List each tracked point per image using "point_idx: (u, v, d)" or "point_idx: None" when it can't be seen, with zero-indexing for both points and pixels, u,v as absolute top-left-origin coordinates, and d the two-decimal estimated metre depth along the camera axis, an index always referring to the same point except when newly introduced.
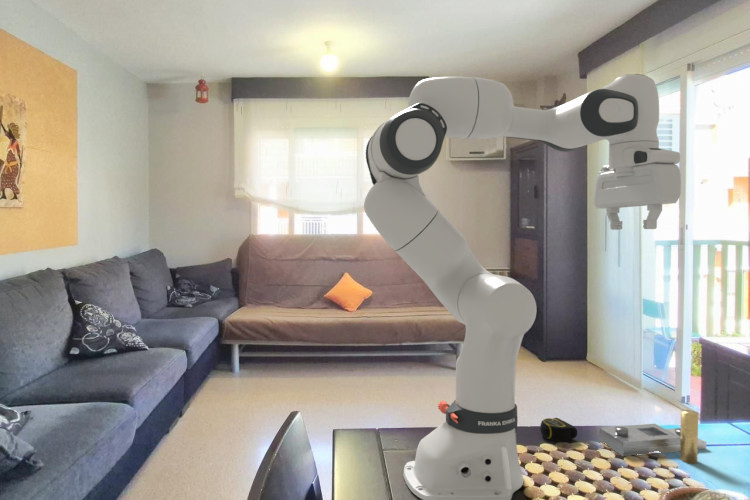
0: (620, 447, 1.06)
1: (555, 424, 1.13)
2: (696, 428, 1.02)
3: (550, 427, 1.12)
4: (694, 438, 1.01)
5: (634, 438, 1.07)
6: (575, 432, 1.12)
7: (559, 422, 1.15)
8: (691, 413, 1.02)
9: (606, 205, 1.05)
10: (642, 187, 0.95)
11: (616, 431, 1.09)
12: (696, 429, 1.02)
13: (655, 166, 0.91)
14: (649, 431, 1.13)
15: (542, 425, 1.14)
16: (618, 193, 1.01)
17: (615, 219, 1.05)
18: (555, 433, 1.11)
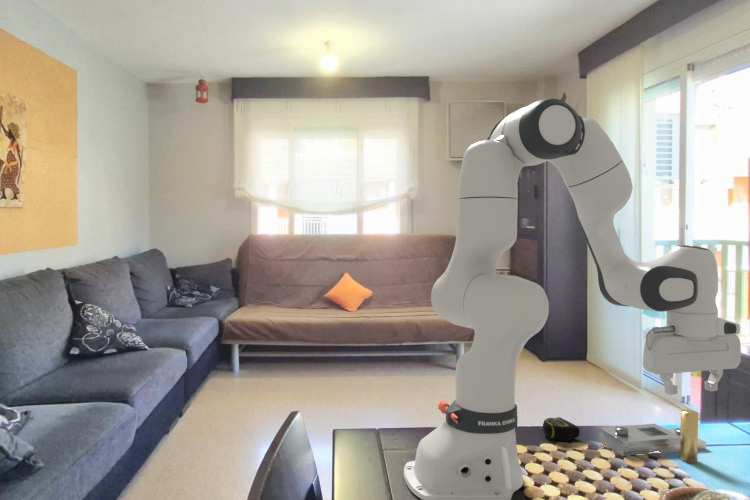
0: (620, 447, 1.06)
1: (558, 424, 1.14)
2: (696, 428, 1.02)
3: (552, 426, 1.13)
4: (694, 438, 1.01)
5: (634, 438, 1.07)
6: (577, 431, 1.13)
7: (561, 421, 1.15)
8: (691, 413, 1.02)
9: (674, 371, 1.00)
10: (718, 354, 1.02)
11: (616, 431, 1.09)
12: (696, 429, 1.02)
13: (738, 337, 1.02)
14: (649, 431, 1.13)
15: (545, 424, 1.15)
16: (690, 359, 1.00)
17: None
18: (558, 432, 1.12)
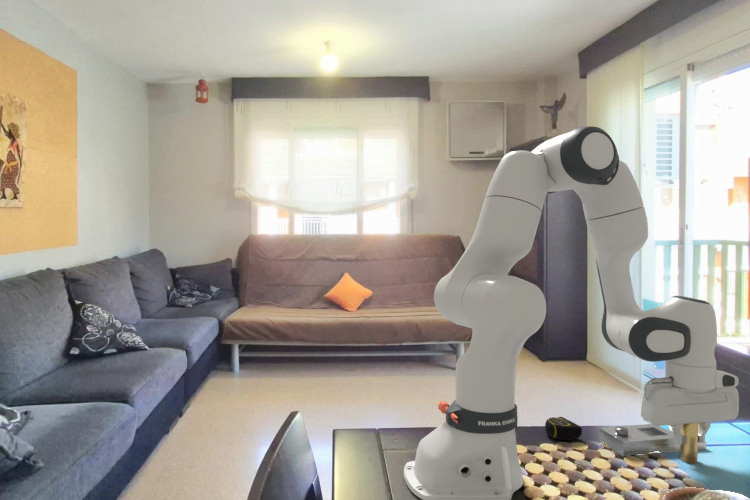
0: (620, 447, 1.06)
1: (560, 423, 1.14)
2: (696, 428, 1.01)
3: (555, 426, 1.13)
4: (694, 438, 1.01)
5: (634, 438, 1.07)
6: (580, 431, 1.13)
7: (564, 421, 1.16)
8: None
9: (672, 423, 1.00)
10: (717, 406, 1.02)
11: (616, 431, 1.09)
12: (696, 429, 1.02)
13: (736, 389, 1.02)
14: (649, 431, 1.13)
15: (547, 424, 1.15)
16: (688, 411, 1.01)
17: None
18: (560, 432, 1.12)
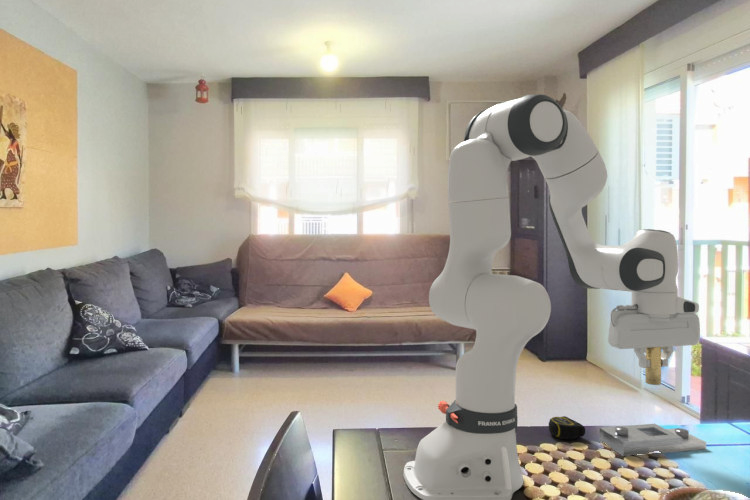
0: (620, 447, 1.06)
1: (564, 423, 1.14)
2: (659, 352, 1.09)
3: (558, 425, 1.13)
4: (657, 361, 1.09)
5: (634, 438, 1.07)
6: (583, 430, 1.13)
7: (567, 420, 1.16)
8: None
9: (636, 346, 1.07)
10: (679, 331, 1.09)
11: (616, 431, 1.09)
12: (659, 353, 1.09)
13: (697, 315, 1.09)
14: (649, 431, 1.13)
15: (550, 423, 1.15)
16: (652, 335, 1.08)
17: None
18: (564, 431, 1.12)
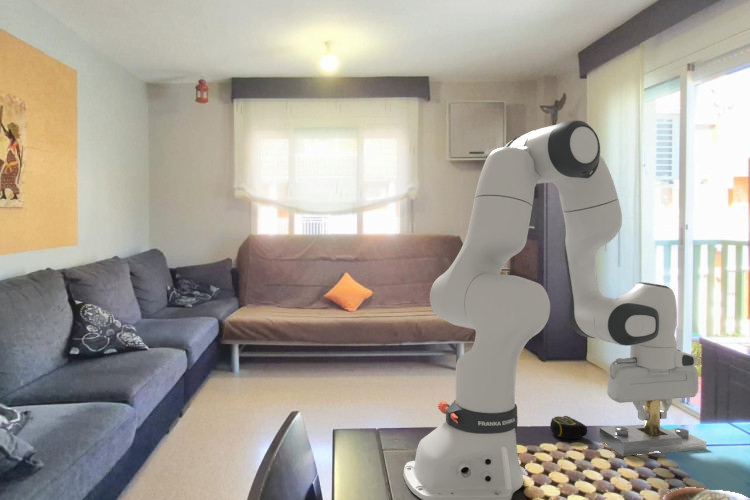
0: (620, 447, 1.06)
1: (565, 422, 1.15)
2: (658, 405, 1.09)
3: (560, 425, 1.14)
4: (656, 413, 1.09)
5: (634, 438, 1.07)
6: (585, 430, 1.13)
7: (569, 420, 1.16)
8: None
9: (635, 400, 1.08)
10: (677, 384, 1.09)
11: (616, 431, 1.09)
12: (658, 406, 1.09)
13: (695, 368, 1.09)
14: None
15: (552, 423, 1.16)
16: (651, 388, 1.08)
17: None
18: (565, 431, 1.13)
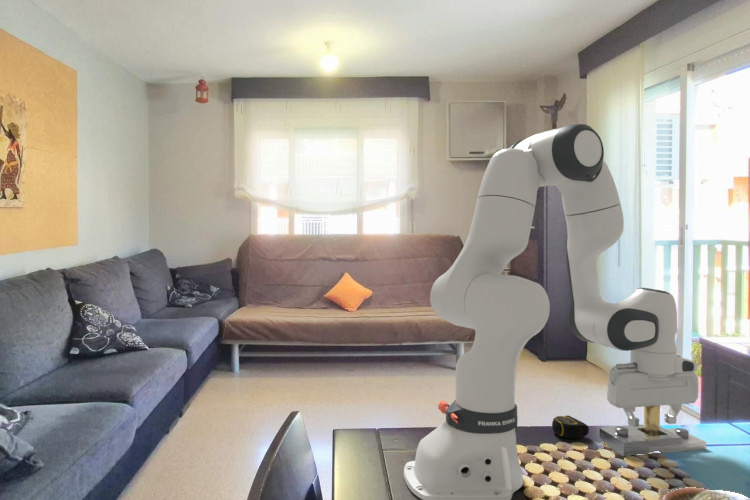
0: (620, 447, 1.06)
1: (567, 422, 1.15)
2: (658, 415, 1.09)
3: (562, 424, 1.14)
4: (655, 424, 1.09)
5: (634, 438, 1.07)
6: (587, 429, 1.14)
7: (571, 420, 1.16)
8: None
9: (635, 405, 1.08)
10: (677, 390, 1.09)
11: (616, 431, 1.09)
12: (658, 416, 1.09)
13: (695, 374, 1.09)
14: None
15: (554, 423, 1.16)
16: (651, 394, 1.08)
17: None
18: (567, 430, 1.13)
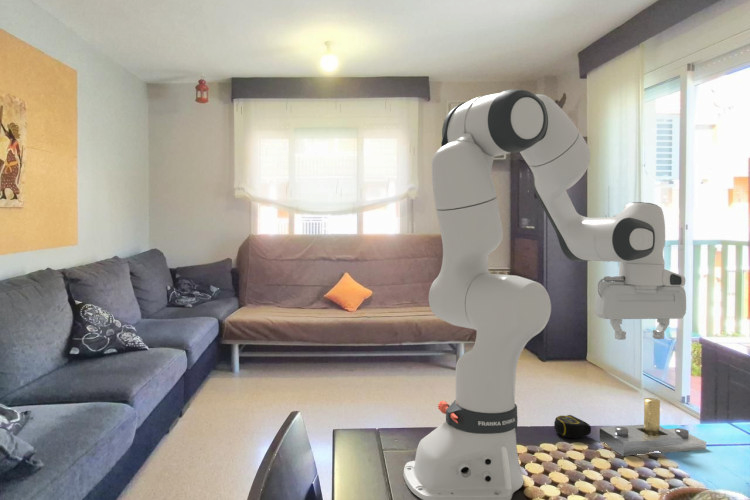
0: (620, 447, 1.06)
1: (569, 421, 1.15)
2: (658, 415, 1.09)
3: (564, 424, 1.14)
4: (655, 424, 1.09)
5: (634, 438, 1.07)
6: (589, 429, 1.14)
7: (573, 419, 1.17)
8: (653, 401, 1.09)
9: (622, 317, 1.09)
10: (665, 304, 1.10)
11: (616, 431, 1.09)
12: (658, 416, 1.09)
13: (683, 289, 1.10)
14: None
15: (556, 422, 1.16)
16: (638, 307, 1.09)
17: None
18: (569, 430, 1.13)
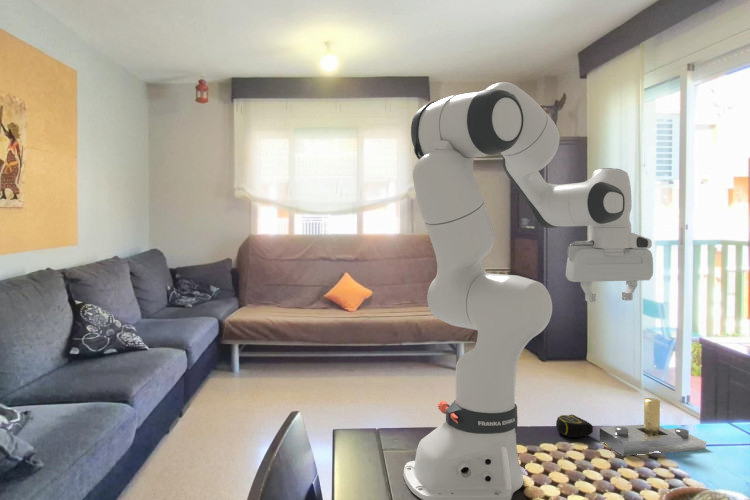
0: (620, 447, 1.06)
1: (571, 421, 1.16)
2: (658, 415, 1.09)
3: (566, 423, 1.14)
4: (655, 424, 1.09)
5: (634, 438, 1.07)
6: (591, 428, 1.14)
7: (575, 419, 1.17)
8: (653, 401, 1.09)
9: (591, 279, 1.13)
10: (633, 266, 1.14)
11: (616, 431, 1.09)
12: (658, 416, 1.09)
13: (650, 251, 1.14)
14: None
15: (558, 422, 1.16)
16: (607, 269, 1.13)
17: None
18: (571, 429, 1.14)
